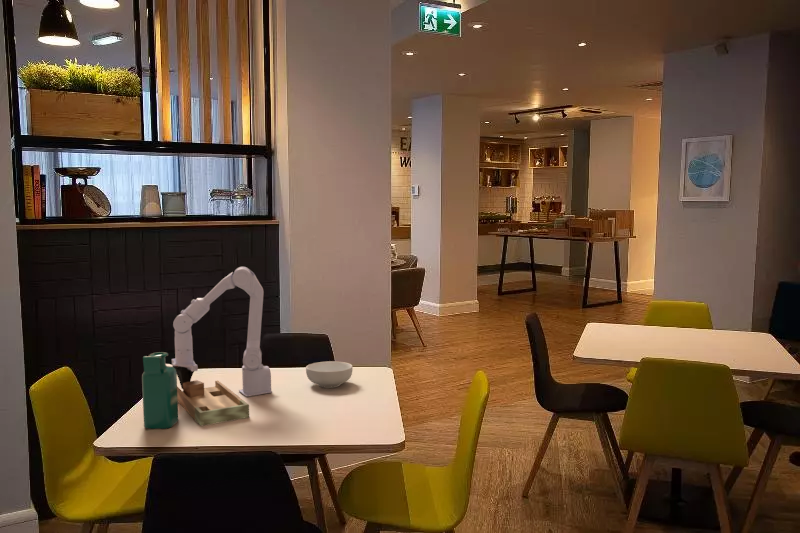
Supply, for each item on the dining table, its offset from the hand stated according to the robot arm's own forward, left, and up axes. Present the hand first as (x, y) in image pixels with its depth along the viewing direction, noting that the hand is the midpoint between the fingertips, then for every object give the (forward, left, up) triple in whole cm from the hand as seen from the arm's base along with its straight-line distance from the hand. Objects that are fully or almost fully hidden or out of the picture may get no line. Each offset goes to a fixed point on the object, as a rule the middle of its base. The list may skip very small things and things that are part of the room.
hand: (185, 388), depth 228 cm
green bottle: (+14, +26, -3) cm, 29 cm away
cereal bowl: (-48, +13, -3) cm, 50 cm away
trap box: (-4, +16, -3) cm, 17 cm away
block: (-1, +6, -1) cm, 6 cm away
